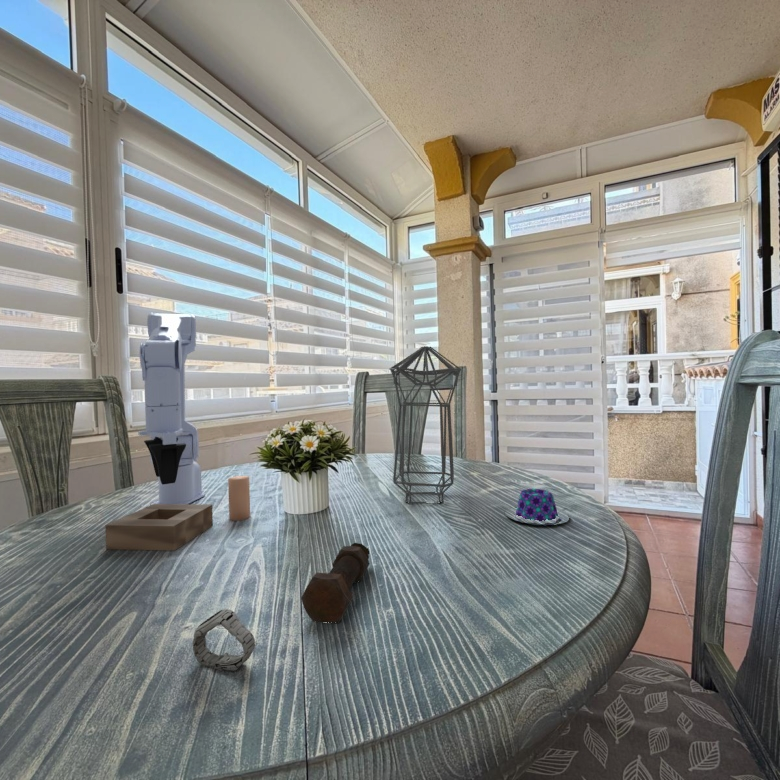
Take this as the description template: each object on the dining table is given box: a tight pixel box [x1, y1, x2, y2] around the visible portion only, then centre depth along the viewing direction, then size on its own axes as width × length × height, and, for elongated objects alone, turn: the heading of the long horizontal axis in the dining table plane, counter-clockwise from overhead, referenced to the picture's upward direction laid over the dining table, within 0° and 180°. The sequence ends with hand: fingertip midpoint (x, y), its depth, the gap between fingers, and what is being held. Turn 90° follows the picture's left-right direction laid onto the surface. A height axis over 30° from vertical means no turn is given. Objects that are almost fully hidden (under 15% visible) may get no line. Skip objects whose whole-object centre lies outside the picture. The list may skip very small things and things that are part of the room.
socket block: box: [104, 503, 214, 552], centre depth 74 cm, size 12×12×4 cm
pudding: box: [516, 488, 558, 521], centre depth 80 cm, size 12×12×5 cm
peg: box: [227, 475, 251, 522], centre depth 84 cm, size 4×4×8 cm
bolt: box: [300, 542, 371, 624], centre depth 54 cm, size 6×5×15 cm
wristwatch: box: [192, 608, 256, 672], centre depth 40 cm, size 4×6×5 cm, turn 73°
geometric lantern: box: [388, 345, 462, 504], centre depth 95 cm, size 16×16×35 cm
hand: (165, 479), depth 76 cm, fingers open, 7 cm apart
